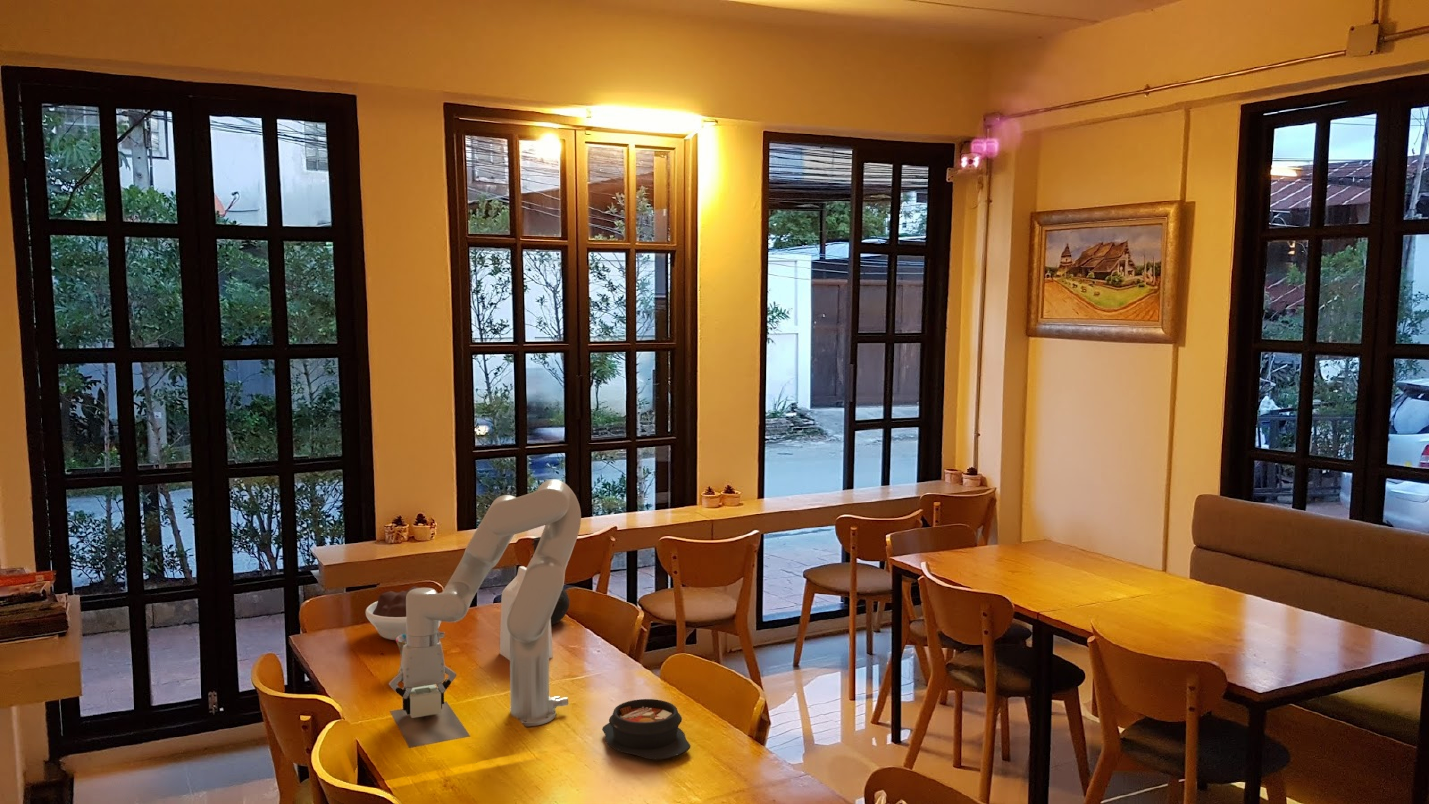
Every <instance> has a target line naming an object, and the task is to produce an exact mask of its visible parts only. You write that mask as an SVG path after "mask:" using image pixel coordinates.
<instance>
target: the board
mask: <svg viewBox="0 0 1429 804" xmlns="http://www.w3.org/2000/svg"><path fill="white" fill-rule="evenodd" d="M389 712H390V714H391V716H392V718H393V720H394V722H395V724H396V725H397V728H398V730H399V731H400V733H401V735H402V737H403V739H404V740H405V743H406V745H407V746H408V748H409V749H410V748H415V747H421V746H426V745H431V744H437V743H440V742H441V743H442V742H448V741H452V740H459V739H462V738H464V739H465V738H468V737H471V735H470V734H469V732H468V730H467V729H466V728H465V726H464V725H463V723H462V722H461V720H460V719H459V717H458V715H457V714H456V713H455V711H454V710H453V709H452V707H451V706H450V704H449V703H448V702H447V701H444V704H442V709H441V713H439V714H433V715H430V716H429V717H426V718H420V717H415V718H412V717H411V716H410V714H408V715H407V713H406V711H405V710H403V708H400V709H394V710H390V711H389Z"/></svg>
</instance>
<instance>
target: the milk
mask: <svg viewBox="0 0 1429 804" xmlns="http://www.w3.org/2000/svg"><path fill="white" fill-rule="evenodd" d="M526 569H527V566H526V567H525V566H523V565H521V566H518V569H517V574H516V576H515V577H514V578H513V579H512V580H511V581H510V582H509V583H508V584H507V585H506V587H504V588H503V590H502V592H501V601H500V603H501V606H500V629H499V631H500V634H499V635H500V638H499V654H500V655H501V656H503V657H505V659H506V660H508V661H510V633H509V631H508V628H507V617H508V612H509V608H510V605H511V603H512V601H513V599H514V598H515V597H516V596H517V594H518V591H519V589H520V586H521V584H522V581H523V579H524V576H525V572H526ZM552 658H554V651H553V639H552V625H551V618H550V621H549V659H552Z"/></svg>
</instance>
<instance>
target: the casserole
mask: <svg viewBox="0 0 1429 804" xmlns="http://www.w3.org/2000/svg"><path fill="white" fill-rule="evenodd" d="M682 720H683V718H682V715H681V714H680V713H679V711H678V707H676V706H675V704H673V703H672V702H668V701H666V700H661V699H654V698H653V699H652V698H643V699H642V698H640V699H633V700H629V701H625V702H622V703H620V704H618V705H617V706H615V708H614V709H613V712H612V714H611V715H610V717H609V719H608V723H606V724H605V725H604V726H602V728H601V730H602V732H603V733H604V736H605V742H606V744H607V745H608V746H609V747H610V748H612V749H613V750H616V751H617V752H621V753H623V754H624V753H625V754H629V755H634V756H638V757H641V758H644V759H647V760H653V761H654V760H665V759H669V758H673V757H674V758H675V757H677V756H680V755H683V754H684V753H686V752H688V751H689V750H690V749H691V744H690V743H689V741H688V740H687V738H686V734H685V732H684V731H683V730H682V728H679V726H680V724H681V723H682Z"/></svg>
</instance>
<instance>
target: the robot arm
mask: <svg viewBox="0 0 1429 804" xmlns="http://www.w3.org/2000/svg"><path fill="white" fill-rule="evenodd" d="M581 523H582V512H581V506H580V503H579V501H578V498H577V495H576V494H575V493H574V491H573V490H572V488H570V486H569V485H568V484H567V483H565V482H564V481H562V480H559V479H557V478H556V479H555V478H552V479H548V480H545V481H544V482H542V483H541V484H540V485H539V486H538V488H537V490H536V491H533V492H530V493H527V494H523V495H521V496H517V497H516V496H515V495H510V494H503V495H501V496H498V497H497V498H495V499H494V500H493V502H492V503H491V504H490V506H489V508H488V510H487V511H486V513H485V515H484V517H483V518H482V519H481V521H480V523H479V525H478V526H477V529H476V531H475V532H474V533H473V535H472V538H471V539H470V540H469V542H468V544H467V546H466V548H465V550H464V553H463V554H462V555H463V556H462V557H461V559H460V561H459V563H458V565H457V566H456V568H455V570H454V572H453V573H452V575H451V577H450V578H449V580H448V582H447V583H446V585H445V587H444V589H443V590H442V591H441V592H439V593H438V591H437V590H435V589H434V588H432V587H418V588H416V589H413V590H410V591H409V592H408V593H407V595H406V631H407V644H405V645H404V646H403V650H402V657H401V656H400V664H401V671H400V673H399V674H398V673H397V675H395V676H394V677H393V678H392V679H391V680H390V681H389V683H388V685H389V687H391V688H392V691H394V692H395V693H396V694H398V695H399V696H400V697H402V709H403V710H405V711H406V713H407V715H408V714H410V698H409V694H410V692H411V690H412V688H415V687H421V686H428V685H434V684H435V685H436V687H437V688H438V690H439V691H440V693H441V709H442V704H444V702H445V693H446V690H447V689H448V688H449V687H450V686H451V685H452V682H454V680H455V679H456V678H457V673H456V672H455V671H453V670H452V669H451V668H449V667H447V666H446V664H445V656H444V651H443V645H442V642H441V639H442V638H445V631H439V628H438V621H441V622H445V623H457V622H459V621H461V620H463V619H464V618H465V617H466V615H467V613H468V612H469V610H470V606H471V604H472V601H473V599H474V598H475V596H476V594H477V592H478V591H479V589H480V587H481V586H482V584H483V583H484V580H485V579H486V577H487V576H488V574H490V573H489V572H490V571H492V569H493V568H494V567H496V566H497V564H498V563H499V561H500V560H501V558H502V556H503V554H504V552H505V551H506V549H507V548H508V546H509V544H510V542H511V541H512V539H513V537H514V535H518V534H522V533H525V532H528V531H531V530H533V529H534V530H535V529H537V528H540V527H543V526H544V527H543V529H542V530H543V531H542V533H541V535H540V537H541V538H540V541H539V543H538V546H537V548H536V550H535V553H534V552H533V554H532V555H533V556H532V557H531V559H530V561H529V562H528V564H527V566H526V568H527V569H526V572H525V576H524V579H523V581H522V584H521V586H520V589H519V591H518V594H517V596H516V597H515V598H514V599H513V601H512V603H511V605H510V608H509V612H508V617H507V628H508V631H509V633H510V660H509V676H510V677H509V679H510V681H509V683H510V687H509V689H510V692H509V693H510V707H509V710H510V715H511V716H512V717H513V718H516V719H518V721H519V722H520V723H521V724H522V725H523V727H535V726H536V727H537V726H541V725H545V724H547V723H550V722H551V721H553V720H554V719H555V718H556V716H557V715H556V713H557V711H556V709H557V707H564V706H568V705H569V699H568V697H567V696H566V697H560V695H557V696H553V697H552V696H551V695H550V658H549V621H550V618H551V616H552V614H553V611H554V609H555V606H556V604H557V601H558V599H559V597H560V594H561V591H562V588H563V589H564V585H565V584H564V583H565V577H566V576H565V575H566V571H567V570H566V569H567V566H568V564H569V561H570V559H571V556H572V554H573V550H574V547H575V545H576V542H577V539H578V537H579V533H580V528H581V525H582V524H581ZM446 675H447V678H446ZM400 682H401V683H403V687H400V686H399V685H398V684H399V683H400Z"/></svg>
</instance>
